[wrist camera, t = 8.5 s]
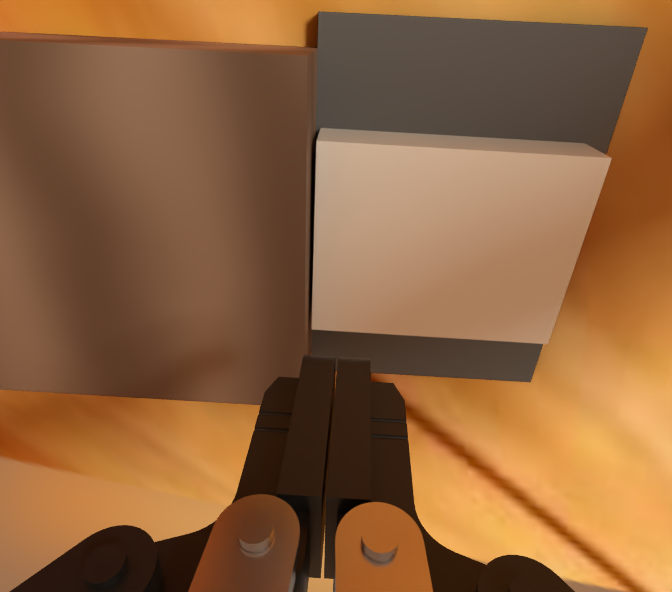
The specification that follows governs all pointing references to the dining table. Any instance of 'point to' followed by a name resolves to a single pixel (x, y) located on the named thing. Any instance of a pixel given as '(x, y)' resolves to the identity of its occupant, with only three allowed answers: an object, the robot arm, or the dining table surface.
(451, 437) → the dining table surface
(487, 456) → the dining table surface
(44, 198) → the block
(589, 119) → the mat
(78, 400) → the dining table surface
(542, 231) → the tile
